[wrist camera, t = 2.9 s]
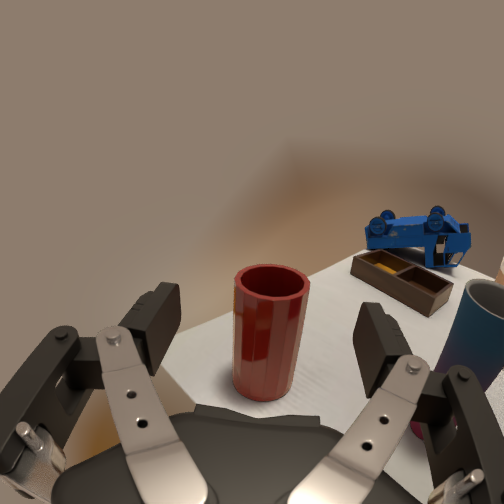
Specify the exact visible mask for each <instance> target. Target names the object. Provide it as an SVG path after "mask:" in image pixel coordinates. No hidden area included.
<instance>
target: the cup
mask: <svg viewBox="0 0 504 504" xmlns="http://www.w3.org/2000/svg"><path fill="white" fill-rule="evenodd" d="M454 365H463V366H466V367H468V368H469V369H471V370H472V371H473V372H474V373H475V375H476V377H477V379H478V381H479V383H480V385H481V387H482V389H483V391H484V393H485V391H486V390H487V389H488V388H489V386H490V385H491V384H492V382H493V381H494V379H495V378H496V377H497V375H498V374H499V372H500V371H501V370H502V368H503V367H504V285H501V284H499V283H496V282H493V281H490V280H485V279H472V280H470V281H468V282H467V283H466V285H465V289H464V292H463V295H462V298H461V302H460V305H459V308H458V311H457V314H456V317H455V319H454V322H453V325H452V328H451V330H450V333H449V336H448V338H447V341H446V343H445V346H444V348H443V351H442V353H441V355H440V358H439V360H438V362H437V365H436V367H435V369H434V372H439V373H444V374H447V372H448V370H449V369H450V367H452V366H454ZM453 421H454V424H455V427H456V426H457V422H456V420H455V417H453ZM410 425H411V428H412V430H413V432H414V433H415V434H416V435H417V436H418V437H419V438H420V439H422V440H424V438H423V434H422V430H421V426H420V423H419V422H414V421H410Z"/></svg>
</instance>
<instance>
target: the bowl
mask: <svg viewBox="0 0 504 504" xmlns="http://www.w3.org/2000/svg"><path fill="white" fill-rule="evenodd" d="M495 282H496V283H499V284H501V285H504V257H503V261H502V263H501V266H500V269H499V272H498V275H497V277H496V280H495Z"/></svg>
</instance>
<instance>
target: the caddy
mask: <svg viewBox="0 0 504 504" xmlns="http://www.w3.org/2000/svg"><path fill="white" fill-rule="evenodd" d="M350 274H352V275H354V276H356V277H357V278H359V279H361V280H363V281H365V282H366V283H368V284H370V285H372V286H374V287H375V288H377V289H379V290H381V291H383V292H384V293H386V294H388V295H390V296H391V297H393V298H395V299H397V300H399V301H400V302H402V303H404V304H406V305H407V306H409V307H411V308H413V309H414V310H416V311H418V312H420V313H421V314H423V315H425V316H426V317H429V316H430V315H432V314H433V313H434V312H435V311H436V310H438V309H439V308H440V307H441V306H442V305H443V304H444V303H446V302H447V301H448V299H449V296H450V293H451V291H452V288H453V285H454V283H452V282H450V281H448V280H446V279H444V278H442V277H440V276H438V275H436V274H434V273H432V272H430V271H427V270H425V269H423V268H421V267H419V266H417V265H415V264H413V263H411V262H409V261H407V260H404V259H402V258H400V257H398V256H396V255H394V254H392V253H389V252H387V251H385V250H383V249H377V250H374V251H371V252H367V253H364V254H360V255H357V256H354V257H353V262H352V267H351V272H350Z"/></svg>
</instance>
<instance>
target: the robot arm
mask: <svg viewBox="0 0 504 504" xmlns="http://www.w3.org/2000/svg"><path fill="white" fill-rule="evenodd" d="M180 322H181V304H180V290H179V285H178V284H174V283H167V282H161V283H160V284H159V285H158V287H157V288H156V289H155V291H154V292H153V291H149V292H147V293H145V294H144V295H142V296H140V298H139V299H138V300H137V301H136V303H135V304H134V305H133V307H132V308H131V309H130V310H129V312H128V313H127V314H126V315H125V317H124V318H123V319H122V321H121V322H120V323H119V324H118V326H111V327H107V328H105V329H103V330H101V331H100V332H99V333H98V334H97V336H96V337H79V335H78V332H77V330H76V329H75V328H74V327H72V326H59V327H56V328H54V329H53V330H51V331H50V332H49V333H48V334H47V336H46V337H45V338H44V339H43V340H42V341H41V343H40V344H39V345H38V346H37V347H36V348H35V350H34V351H33V352H32V353H31V355H30V356H29V357H28V358H27V360H26V361H25V362H24V363H23V365H22V366H21V367H20V368H19V369H18V371H17V372H16V373H15V375H14V376H13V377H12V379H11V380H10V381H9V382H8V384H7V385H6V386H5V388H4V389H3V390H2V392H1V393H0V479H1V480H2V481H3V482H4V483H5V484H7V485H8V486H9V487H11V488H13V489H14V490H15V491H17V492H18V493H19V494H20V495H22V496H23V497H25V498H28V499H35V498H36V499H38V500H40V501H42V502H43V503H45V504H422V503H421V502H420V501H418V500H417V499H416V498H415V497H413V496H412V495H411V494H410V493H409V492H408V491H406V490H405V489H404V488H403V487H402V486H401V485H399V484H398V483H397V482H396V481H395V480H394V479H393V478H391V477H390V476H389V475H388V474H387V473H386V472H385V471H384V470H383V468H384V467H385V465H386V464H387V462H388V460H389V459H390V457H391V455H392V454H393V452H394V450H395V448H396V447H397V445H398V443H399V441H400V439H401V437H402V436H403V434H404V432H405V430H406V428H407V426H408V424H409V422H410V421H414V422H419V423H420V426H421V430H422V434H423V438H424V443H425V447H426V451H427V456H428V461H429V465H430V470H431V476H432V481H433V486H434V490H433V491H432V492H431V494H430V496H429V498H428V504H504V437H503V434H502V432H501V429H500V427H499V424H498V422H497V420H496V417H495V415H494V413H493V410H492V408H491V406H490V404H489V402H488V399H487V397H486V395H485V393H484V391H483V389H482V387H481V385H480V383H479V381H478V379H477V377H476V375H475V373H474V372H473V371H472V370H471V369H469V368H468V367H466V366H463V365H454V366H452V367H450V369H449V370H448V372H447V374H444V373H439V372H434V371H430V367H429V365H428V364H427V362H426V361H425V360H423V359H422V358H420V357H418V356H415V355H413V354H412V351H411V349H410V347H409V345H408V343H407V341H406V339H405V337H403V333H402V331H401V330H400V327H399V325H398V323H397V321H396V320H395V319H394V318H393V317H391V316H390V315H389V314H385V313H384V310H383V308H382V306H381V304H380V303H371V302H363V303H362V305H361V308H360V311H359V315H358V318H357V322H356V325H355V329H354V332H353V346H354V349H355V353H356V357H357V361H358V365H359V369H360V373H361V377H362V381H363V385H364V389H365V394H366V398H367V399H368V398H371V399H370V401H369V402H368V404H367V405H366V406H365V408H364V409H363V411H362V412H361V413H360V415H359V416H358V417H357V419H356V420H355V421H354V423H353V424H352V425H351V427H350V428H349V429H348V431H347V432H346V433H345V434H342V433H340V432H339V431H337V430H335V429H332V428H330V427H327V426H324V425H320V416H303V415H285V416H277V417H269V418H253V417H250V416H247V415H244V414H241V413H238V412H235V411H232V410H229V409H227V408H220V407H213V406H207V405H201V404H196V407H195V410H194V412H185V413H179V414H175V415H172V416H169V417H168V415H167V413H166V411H165V409H164V407H163V405H162V403H161V401H160V398H159V396H158V394H157V392H156V390H155V387H154V385H153V383H152V380H151V378H150V376H155V374H156V372H157V370H158V368H159V366H160V364H161V362H162V360H163V358H164V356H165V354H166V352H167V350H168V348H169V346H170V344H171V342H172V340H173V338H174V336H175V334H176V332H177V330H178V327H179V325H180ZM61 376H62V377H63V378H62V379H61V381H60V382H59V384H58V385H57V387H56V388H55V386H56V383H57V382H58V380H59V379H60V377H61ZM94 389H105V391H106V395H107V398H108V402H109V405H110V409H111V413H112V416H113V419H114V423H115V426H116V429H117V432H118V435H119V438H120V441H121V443H119V444H117V445H115V446H113V447H111V448H109V449H107V450H105V451H103V452H101V453H99V454H98V455H95V456H93V457H91V458H89V459H87V460H85V461H83V462H81V463H79V464H77V465H74V466H72V467H70V468H68V469H67V470H65V464H66V456H65V454H64V452H63V448H64V446H65V444H66V442H67V439H68V438H69V436H70V434H71V432H72V430H73V428H74V426H75V424H76V422H77V420H78V418H79V416H80V414H81V413H82V411H83V409H84V407H85V405H86V403H87V401H88V400H89V398H90V396H91V394H92V392H93V390H94ZM453 417H455V420H456V422H457V430H456V427H455V424H454V421H453Z"/></svg>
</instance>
